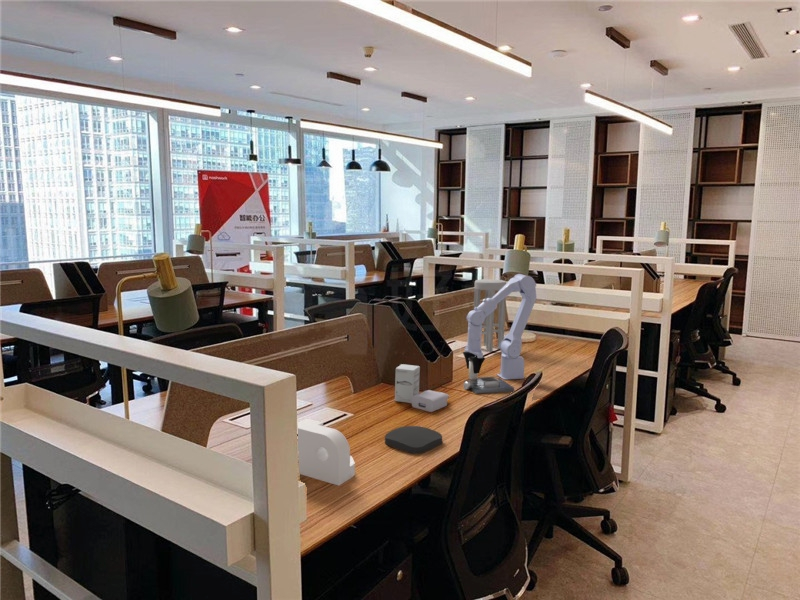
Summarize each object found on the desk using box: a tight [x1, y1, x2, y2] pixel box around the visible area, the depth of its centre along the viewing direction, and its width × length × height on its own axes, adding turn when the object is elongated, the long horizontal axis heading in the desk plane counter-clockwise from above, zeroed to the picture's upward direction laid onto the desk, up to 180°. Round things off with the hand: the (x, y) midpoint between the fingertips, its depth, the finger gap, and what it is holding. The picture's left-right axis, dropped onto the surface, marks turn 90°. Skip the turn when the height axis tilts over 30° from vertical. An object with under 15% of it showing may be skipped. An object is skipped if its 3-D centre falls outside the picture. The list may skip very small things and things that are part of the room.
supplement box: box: [394, 363, 421, 404], centre depth 221 cm, size 7×7×13 cm
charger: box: [411, 389, 450, 413], centre depth 216 cm, size 5×9×15 cm
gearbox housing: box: [463, 376, 515, 395], centre depth 238 cm, size 18×13×4 cm
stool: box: [473, 278, 507, 352], centre depth 306 cm, size 16×16×35 cm
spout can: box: [468, 358, 478, 380], centre depth 251 cm, size 4×4×9 cm
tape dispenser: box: [297, 418, 356, 487], centre depth 159 cm, size 16×10×13 cm, turn 59°
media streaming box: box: [384, 425, 443, 455], centre depth 181 cm, size 15×15×3 cm
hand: (473, 370), depth 251 cm, fingers open, 7 cm apart
